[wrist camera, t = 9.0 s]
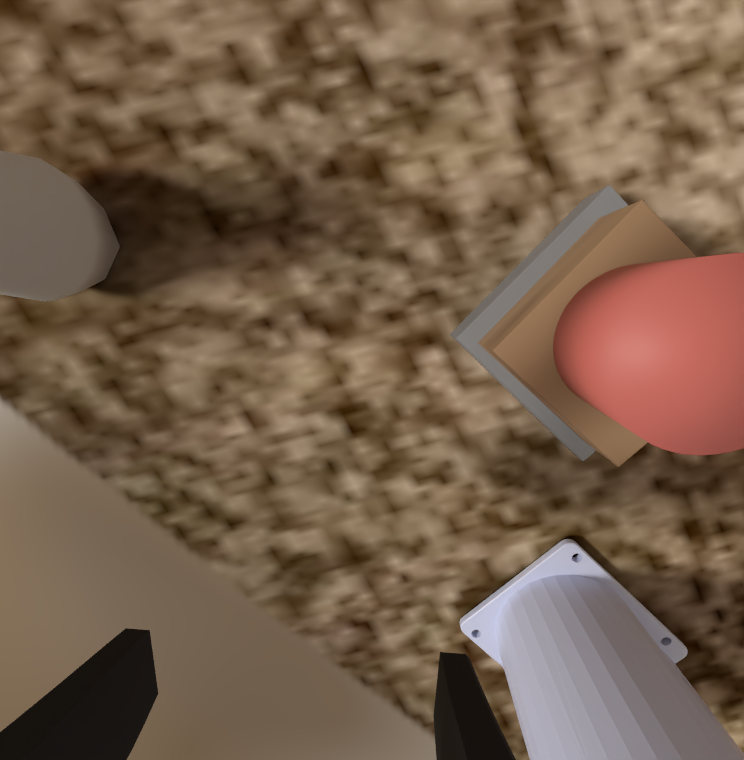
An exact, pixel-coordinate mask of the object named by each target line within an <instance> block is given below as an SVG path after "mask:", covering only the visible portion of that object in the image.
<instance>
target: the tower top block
mask: <svg viewBox="0 0 744 760" xmlns="http://www.w3.org/2000/svg"><path fill="white" fill-rule="evenodd" d="M695 257H697V256H696V255H695V254H694V253H693V252H692V251H691V250H690V249H689V248H688V247H687V246H686V245H685V244H684V243H683V242H682V241H681V240H680V239H679V238H678V237H677V236H676V235H675V234H674V233H673V231H672V230H671V229H670V228H669V227H668V226H667V225H666V224H665V223H664V222H663V221H662V220H661V219H660V218H659V217H658V216H657V215H656V214H655V213H654V212H653V211H652V210H651V209H650V208H649V207H648V206H647V205H646V204H645V203H644V202H643V201H642V200H640V201H638V202H636V203H633V204H631V205H629V206H626V207H624V208H621V209H619V210H617V211H614V212H612V213H610V214H607V215H605V216H603V217H600V218H598V219H597V221H596V222H595V223H594V224H593V225H592V226H591V227H590V228H589V229H588V230H587V231H586V232H585V233H584V234H583V235H582V236H581V237H580V238H579V239H578V240H577V241H576V242H575V243H574V244H573V245H572V246H571V247H570V248H569V249H568V250H567V251H566V252H565V254H564V255H563V256H562V257H561V258H560V259H559V260H558V261H557V262H556V263H555V264H554V265H553V266H552V267H551V268H550V269H549V270H548V271H547V272H546V273H545V274H544V275H543V276H542V277H541V278H540V279H539V280H538V281H537V282H536V283H535V284H534V285H533V287H532V288H531V289H530V290H529V291H528V292H527V293H526V294H525V295H524V296H523V297H522V298H521V299H520V300H519V301H518V302H517V303H516V304H515V305H514V306H513V307H512V308H511V309H510V310H509V311H508V312H507V313H506V314H505V315H504V316H503V317H502V318H501V319H500V321H499V322H498V323H497V324H496V325H495V326H494V327H493V328H492V329H491V330H490V331H489V332H488V333H487V334H486V335H485V336H484V337H483V338H482V339H481V340H480V341H479V342H478V344H479V345H480V346H481V347H483V348H484V349H485V350H486V351H487V352H488V353H489V354H490V355H491V356H492V357H493V358H494V359H496V360H497V361H498V362H499V363H500V364H501V365H502V366H503V367H504V368H505V369H506V370H507V371H508V372H510V373H511V374H512V375H513V376H514V377H515V378H516V379H517V380H518V381H519V382H520V383H521V384H523V385H524V386H525V387H526V388H527V389H528V390H529V391H530V392H531V393H532V394H533V395H534V396H536V397H537V398H538V399H539V400H540V401H541V402H542V403H543V404H544V405H545V406H546V407H547V408H549V409H550V410H551V411H552V412H553V413H554V414H555V415H556V416H557V417H558V418H559V419H560V420H562V421H563V422H564V423H565V424H566V425H567V426H568V427H569V428H570V429H571V430H572V431H573V432H575V433H576V434H577V435H578V436H579V437H580V438H581V439H582V440H583V441H584V442H586V443H587V444H588V445H590V446H591V447H592V448H594V449H595V450H596V451H598V452H599V453H600V454H602V455H603V456H604V457H606V458H607V459H608V460H610V461H611V462H612V463H614V464H615V465H616V466H618V467H619V466H620V465H621V464H623V463H624V462H625V461H626V460H627V459H629V458H630V457H631V456H632V455H633V454H634V453H636V452H637V451H638V450H639V449H640V448H642V447H643V446H644V445H645V444H646V443H648V442H647V441H645V440H643V439H642V438H640V437H639V436H637V435H636V434H634V433H633V432H631V431H629V430H628V429H626V428H625V427H623V426H622V425H620V424H619V423H617V422H616V421H614V420H613V419H611V418H610V417H608V416H606V415H605V414H603V413H602V412H600V411H599V410H597V409H596V408H594V407H593V406H591V405H590V404H588V403H586V402H585V401H583V400H582V399H580V398H579V397H578V396H576V395H575V394H574V393H573V392H571V390H570V389H569V388H568V387H567V386H566V385H565V383H564V382H563V380H562V379H561V377H560V375H559V373H558V371H557V368H556V365H555V361H554V354H553V341H554V334H555V330H556V327H557V324H558V321H559V319H560V316H561V314H562V313H563V311H564V309H565V307H566V306H567V304H568V303H569V302H570V300H571V299H572V298H573V297H574V296H575V295H576V293H577V292H578V291H579V290H580V289H582V288H583V287H584V286H585V285H586V284H587V283H589V282H590V281H592V280H593V279H595V278H596V277H598V276H600V275H602V274H604V273H605V272H608V271H610V270H613V269H615V268H618V267H622V266H626V265H632V264H639V263H649V262H658V261H667V260H676V259H686V258H695Z"/></svg>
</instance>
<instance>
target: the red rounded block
mask: <svg viewBox="0 0 744 760" xmlns="http://www.w3.org/2000/svg"><path fill="white" fill-rule="evenodd" d="M553 354H554V361H555V365H556V368H557V371H558V373H559V375H560V377H561V379H562V380H563V382H564V383H565V385H566V386H567V387H568V388H569V389H570V390H571V392H573V393H574V394H575V395H576V396H578V397H579V398H580V399H582V400H583V401H585V402H586V403H588V404H590V405H591V406H593V407H594V408H596V409H597V410H599V411H600V412H602V413H603V414H605V415H606V416H608V417H610V418H611V419H613V420H614V421H616V422H617V423H619V424H620V425H622V426H623V427H625V428H626V429H628V430H629V431H631V432H633V433H634V434H636V435H637V436H639V437H640V438H642V439H643V440H645V441H647V442H648V443H650V444H652V445H654V446H657V447H659V448H661V449H664V450H668V451H671V452H675V453H680V454H687V455H715V454H721V453H727V452H732V451H735V450H739V449H743V448H744V253H732V254H723V255H713V256H704V257H695V258H686V259H676V260H667V261H658V262H649V263H639V264H632V265H626V266H622V267H618V268H615V269H613V270H610V271H608V272H605V273H604V274H602V275H600V276H598V277H596V278H595V279H593V280H592V281H590V282H589V283H587V284H586V285H585V286H584V287H583V288H582V289H580V290H579V291H578V292H577V293H576V295H575V296H574V297H573V298H572V299H571V300H570V302H569V303H568V304H567V306H566V307H565V309H564V311H563V313H562V314H561V316H560V319H559V321H558V324H557V327H556V330H555V334H554V341H553Z"/></svg>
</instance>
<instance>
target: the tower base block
mask: <svg viewBox="0 0 744 760" xmlns="http://www.w3.org/2000/svg"><path fill="white" fill-rule="evenodd" d="M626 206H628V204H627V203H626V202H625V201H624V200H623V199H622V198H621V197H620V196H619V195H618V194H617V193H616V191H615V190H614V189H613V188H612V187H611V186H610V185H608V186H606V187H604V188H603V189H601V190H599V191H597V192H595V193H594V194H592V195H590V196H588V197H587V198H585V199H583V200H582V201H581V202H580V203H579V204H578V205H577V206H576V207H575V208H574V209H573V210H572V211H571V212H570V213H569V214H568V215H567V216H566V217H565V219H564V220H563V221H562V222H561V223H560V224H559V225H558V226H557V227H556V228H555V229H554V230H553V231H552V232H551V233H550V234H549V235H548V236H547V237H546V238H545V239H544V240H543V241H542V242H541V243H540V244H539V245H538V246H537V247H536V248H535V249H534V250H533V251H532V252H531V253H530V254H529V255H528V256H527V257H526V258H525V259H524V260H523V261H522V262H521V263H520V264H519V265H518V266H517V267H516V268H515V269H514V270H513V271H512V272H511V273H510V274H509V275H508V276H507V277H506V278H505V279H504V280H503V281H502V282H501V283H500V284H499V285H498V286H497V287H496V288H495V289H494V290H493V291H492V292H491V293H490V294H489V295H488V296H487V297H486V298H485V299H484V300H483V301H482V302H481V303H480V304H479V305H478V306H477V307H476V308H475V309H474V310H473V311H472V312H471V313H470V314H469V315H468V316H467V317H466V318H465V319H464V320H463V321H462V323H461V324H460V325H459V326H458V327H457V328H456V329H455V330H454V331H453V332H452V333H451V334H450V335H451V336H452V337H453V338H454V339H455V340H456V341H457V342H458V343H459V344H460V345H461V346H462V347H463V348H464V349H465V350H466V351H467V352H468V353H469V354H470V355H471V356H473V357H474V358H475V359H476V360H477V361H478V362H479V363H480V364H481V365H482V366H483V367H484V368H485V369H486V370H487V371H488V372H489V373H490V374H491V375H492V376H493V377H494V378H495V379H496V380H497V381H498V382H499V383H500V384H501V385H502V386H503V387H504V388H506V389H507V390H508V391H509V392H510V393H511V394H512V395H513V396H514V397H515V398H516V399H517V400H518V401H519V402H520V403H521V404H522V405H523V406H524V407H525V408H526V409H527V410H528V411H529V412H530V413H531V414H532V415H533V416H534V417H535V418H536V419H537V420H539V421H540V422H541V423H542V424H543V425H544V426H545V427H546V428H547V429H548V430H549V431H550V432H551V433H552V434H553V435H554V436H555V437H556V438H557V439H558V440H559V441H560V442H561V443H562V444H563V445H564V446H566V447H567V448H568V449H569V450H570V451H571V452H572V453H574V454H575V455H576V456H577V457H578V458H579V459H580V460H582V461H584V460H586V459H587V458H588V457H589V456H591V455H592V454H593V453H594V452H595V451H596V450H595V449H594V448H592V447H591V446H590V445H588V444H587V443H586V442H584V441H583V440H582V439H581V438H580V437H579V436H578V435H577V434H576V433H575V432H573V431H572V430H571V429H570V428H569V427H568V426H567V425H566V424H565V423H564V422H563V421H562V420H560V419H559V418H558V417H557V416H556V415H555V414H554V413H553V412H552V411H551V410H550V409H549V408H547V407H546V406H545V405H544V404H543V403H542V402H541V401H540V400H539V399H538V398H537V397H536V396H534V395H533V394H532V393H531V392H530V391H529V390H528V389H527V388H526V387H525V386H524V385H523V384H521V383H520V382H519V381H518V380H517V379H516V378H515V377H514V376H513V375H512V374H511V373H510V372H508V371H507V370H506V369H505V368H504V367H503V366H502V365H501V364H500V363H499V362H498V361H497V360H496V359H494V358H493V357H492V356H491V355H490V354H489V353H488V352H487V351H486V350H485V349H484V348H483V347H481V346H480V345H479V344H478V342H479V341H480V340H481V339H482V338H483V337H484V336H485V335H486V334H487V333H488V332H489V331H490V330H491V329H492V328H493V327H494V326H495V325H496V324H497V323H498V322H499V321H500V319H501V318H502V317H503V316H504V315H505V314H506V313H507V312H508V311H509V310H510V309H511V308H512V307H513V306H514V305H515V304H516V303H517V302H518V301H519V300H520V299H521V298H522V297H523V296H524V295H525V294H526V293H527V292H528V291H529V290H530V289H531V288H532V287H533V285H534V284H535V283H536V282H537V281H538V280H539V279H540V278H541V277H542V276H543V275H544V274H545V273H546V272H547V271H548V270H549V269H550V268H551V267H552V266H553V265H554V264H555V263H556V262H557V261H558V260H559V259H560V258H561V257H562V256H563V255H564V254H565V252H566V251H567V250H568V249H569V248H570V247H571V246H572V245H573V244H574V243H575V242H576V241H577V240H578V239H579V238H580V237H581V236H582V235H583V234H584V233H585V232H586V231H587V230H588V229H589V228H590V227H591V226H592V225H593V224H594V223H595V222H596V221H597V219H598V218H600V217H603V216H605V215H607V214H610V213H612V212H614V211H617V210H619V209H621V208H624V207H626Z"/></svg>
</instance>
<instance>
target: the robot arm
mask: <svg viewBox="0 0 744 760" xmlns="http://www.w3.org/2000/svg"><path fill="white" fill-rule="evenodd" d="M574 554H578V555H577V556H576V557H572V556H573V555H574ZM460 627H461V630H462V632H463V633H464V634H465V635H467V636H468V637H469V638H470V639H471V640H472V641H473V642H475V643H476V644H477V645H478V646H479V647H480V648H481V649H483V650H484V651H485V652H486V653H487V654H488V655H490V656H491V657H492V658H493V659H494V660H495V661H496V662H498V663H499V664H500V665H501V666H502V667H503V668H504V670H505V674H506V677H507V681H508V684H509V688H510V691H511V695H512V698H513V702H514V705H515V709H516V712H517V716H518V719H519V723H520V726H521V730H522V733H523V737H524V740H525V744H526V747H527V751H528V754H529V758H530V760H744V754H743V752H742V751H741V750H740V748H739V747H738V746H737V744H736V743H735V742H734V740H733V739H732V738H731V736H730V735H729V734H728V733H727V731H726V730H725V729H724V727H723V726H722V725H721V723H720V722H719V721H718V719H717V718H716V717H715V716H714V714H713V713H712V712H711V710H710V709H709V708H708V706H707V705H706V704H705V702H704V701H703V700H702V698H701V697H700V696H699V695H698V693H697V692H696V691H695V689H694V688H693V687H692V685H691V684H690V683H689V681H688V680H687V679H686V677H685V676H684V675H683V674H682V672H681V671H680V670H679V668H678V667H677V666H676V664H675V663H677V662H679V661H680V660H682V659H683V658H685V657H686V656H687V653H688V649H687V648H686V647H685V645H684V644H683V643H682V642H681V641H680V640H679V639H678V638H677V637H676V636H675V635H674V634H673V633H672V632H671V631H670V630H669V629H667V628H666V627H665V626H664V625H663V624H662V623H661V622H660V621H659V620H658V619H657V618H656V617H655V616H654V615H653V614H652V613H651V612H649V611H648V610H647V609H646V608H645V607H644V606H643V605H642V604H641V603H640V602H639V601H638V600H637V599H636V598H635V597H634V596H632V595H631V594H630V593H629V592H628V591H627V590H626V589H625V588H624V587H623V586H622V585H621V584H620V583H619V582H618V581H617V580H616V579H614V578H613V577H612V576H611V575H610V574H609V573H608V572H607V571H606V570H605V569H604V568H603V567H602V566H601V565H600V564H599V563H597V562H596V561H595V560H594V559H593V558H592V557H591V556H590V555H589V554H588V553H587V552H586V551H585V550H584V549H583V548H582V547H581V546H579V545H578V544H577V543H576V542H575V541H574V540H572V539H564V540H562V541H561V542H559V543H558V544H557V545H555V546H554V547H553V548H551V549H550V550H549V551H548V552H546V553H545V554H544V555H542V556H541V557H540V558H539V559H537V560H536V561H535V562H533V563H532V564H531V565H529V566H528V567H527V568H526V569H524V570H523V571H522V572H520V573H519V574H518V575H517V576H515V577H514V578H513V579H511V580H510V581H509V582H507V583H506V584H505V585H504V586H502V587H501V588H500V589H498V590H497V591H496V592H495V593H493V594H492V595H491V596H489V597H488V598H487V599H485V600H484V601H483V602H482V603H480V604H479V605H478V606H476V607H475V608H474V609H472V610H471V611H470V612H469V613H467V614H466V615H465V616H463V617H462V618H461V620H460ZM474 630H478V631H474ZM157 695H158V689H157V682H156V674H155V667H154V660H153V652H152V645H151V637H150V630H137V629H125V630H124V631H122V632H121V633H120V634H119V635H117V636H116V637H115V638H114V639H113V640H111V641H110V642H109V643H108V644H106V645H105V646H104V647H103V648H102V649H101V650H99V651H98V652H97V653H96V654H95V655H93V656H92V657H91V658H90V659H89V660H87V661H86V662H85V663H84V664H83V665H81V666H80V667H79V668H78V669H77V670H75V671H74V672H73V673H72V674H71V675H69V676H68V677H67V678H66V679H65V680H63V681H62V682H61V683H60V684H59V685H57V686H56V687H55V688H54V689H53V690H51V691H50V692H49V693H48V694H47V695H45V696H44V697H43V698H42V699H41V700H39V701H38V702H37V703H36V704H34V705H33V706H32V707H31V708H29V709H28V710H27V711H26V712H25V713H23V714H22V715H21V716H20V717H18V718H17V719H16V720H15V721H14V722H12V723H11V724H10V725H9V726H7V727H6V728H5V729H4V730H2V731H1V732H0V760H126V759H127V757H128V756H129V754H130V752H131V750H132V748H133V747H134V744H135V742H136V740H137V738H138V736H139V734H140V732H141V730H142V728H143V726H144V724H145V721H146V719H147V717H148V715H149V712H150V710H151V708H152V706H153V704H154V701H155V699H156V697H157ZM434 728H435V743H436V755H437V760H516V759H515V757H514V755H513V753H512V751H511V749H510V747H509V745H508V743H507V741H506V739H505V737H504V735H503V733H502V731H501V729H500V727H499V725H498V723H497V720H496V718H495V716H494V714H493V712H492V710H491V708H490V705H489V703H488V701H487V699H486V696H485V694H484V692H483V690H482V687H481V685H480V683H479V680H478V678H477V675H476V673H475V671H474V668H473V666H472V663H471V660H470V658H469V657H468V656H467V655H466V654H456V653H443V652H440V659H439V669H438V679H437V689H436V698H435V708H434Z"/></svg>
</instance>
